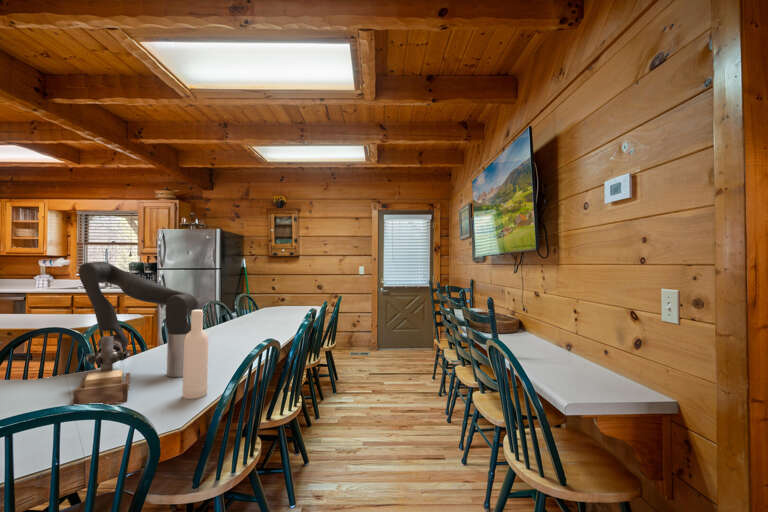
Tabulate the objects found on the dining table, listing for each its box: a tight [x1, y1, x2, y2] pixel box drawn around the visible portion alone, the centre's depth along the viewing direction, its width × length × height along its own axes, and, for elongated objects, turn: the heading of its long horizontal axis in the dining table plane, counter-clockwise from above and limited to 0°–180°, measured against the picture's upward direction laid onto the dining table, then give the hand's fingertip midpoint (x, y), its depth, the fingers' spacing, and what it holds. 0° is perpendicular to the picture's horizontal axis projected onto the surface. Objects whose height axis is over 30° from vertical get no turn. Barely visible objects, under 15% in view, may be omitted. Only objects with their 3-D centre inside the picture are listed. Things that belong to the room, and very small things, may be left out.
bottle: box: [181, 309, 210, 400], centre depth 133 cm, size 8×8×30 cm
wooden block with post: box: [84, 335, 124, 388], centre depth 133 cm, size 10×13×18 cm
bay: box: [72, 372, 131, 405], centre depth 131 cm, size 14×20×6 cm
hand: (106, 361), depth 134 cm, fingers closed on wooden block with post, 3 cm apart
